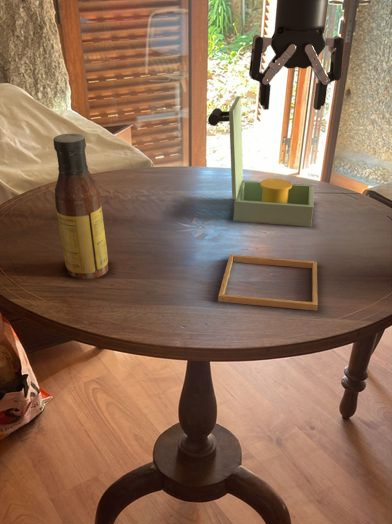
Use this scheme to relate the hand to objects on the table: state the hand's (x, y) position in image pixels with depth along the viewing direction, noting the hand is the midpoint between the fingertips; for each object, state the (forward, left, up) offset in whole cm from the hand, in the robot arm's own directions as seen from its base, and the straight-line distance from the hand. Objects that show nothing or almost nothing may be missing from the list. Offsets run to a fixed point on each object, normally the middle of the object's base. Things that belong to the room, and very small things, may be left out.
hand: (291, 108), depth 93 cm
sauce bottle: (+27, +27, -19) cm, 43 cm away
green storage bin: (+1, -2, -19) cm, 19 cm away
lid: (+8, -2, -7) cm, 11 cm away
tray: (0, +26, -19) cm, 32 cm away
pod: (+1, -2, -18) cm, 18 cm away
